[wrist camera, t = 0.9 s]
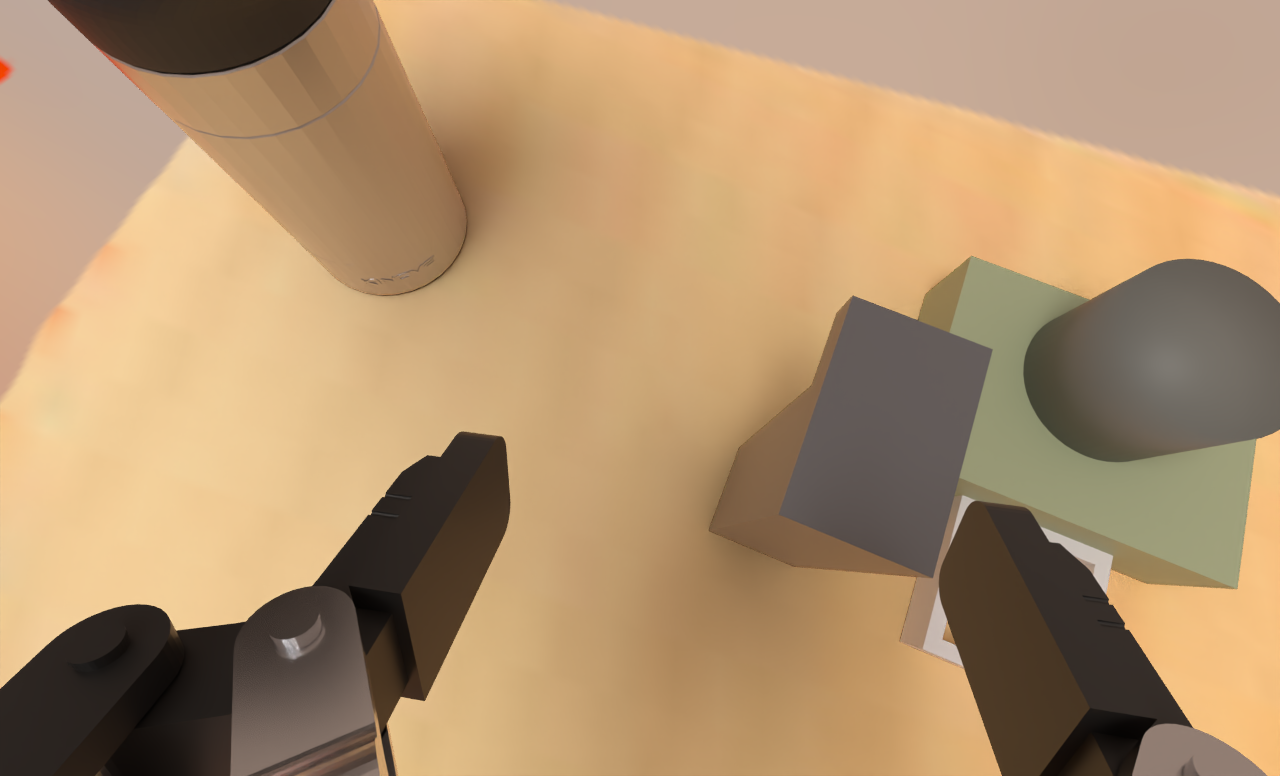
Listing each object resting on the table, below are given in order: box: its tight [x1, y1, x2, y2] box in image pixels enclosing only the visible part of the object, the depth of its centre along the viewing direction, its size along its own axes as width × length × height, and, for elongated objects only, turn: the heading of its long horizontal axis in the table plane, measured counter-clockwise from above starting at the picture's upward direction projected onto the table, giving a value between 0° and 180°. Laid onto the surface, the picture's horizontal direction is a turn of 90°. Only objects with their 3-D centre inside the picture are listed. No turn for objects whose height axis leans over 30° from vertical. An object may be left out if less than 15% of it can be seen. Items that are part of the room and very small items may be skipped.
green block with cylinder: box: [900, 256, 1280, 669], centre depth 29 cm, size 20×16×11 cm
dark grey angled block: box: [709, 296, 993, 578], centre depth 27 cm, size 8×5×15 cm, turn 158°
